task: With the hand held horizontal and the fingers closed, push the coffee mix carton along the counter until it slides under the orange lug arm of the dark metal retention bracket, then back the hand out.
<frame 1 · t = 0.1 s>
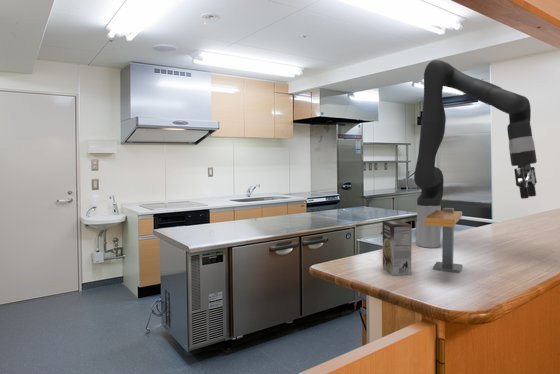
hand: (528, 197, 131), 22 cm above the counter, tool pointing down, fingers open, 8 cm apart
coffee box: (396, 271, 123), on the counter
lug bracket: (442, 277, 116), on the counter
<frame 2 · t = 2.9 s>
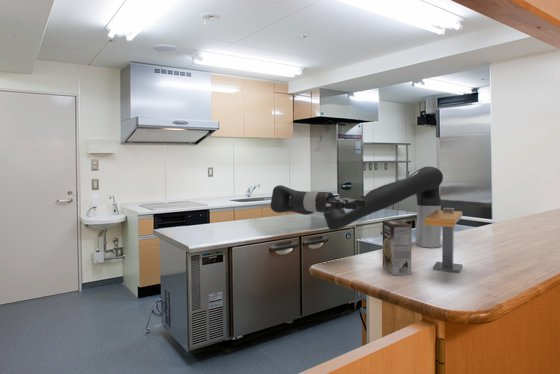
hand: (361, 204, 128), 21 cm above the counter, tool horizontal, fingers open, 8 cm apart
nothing on the counter moved.
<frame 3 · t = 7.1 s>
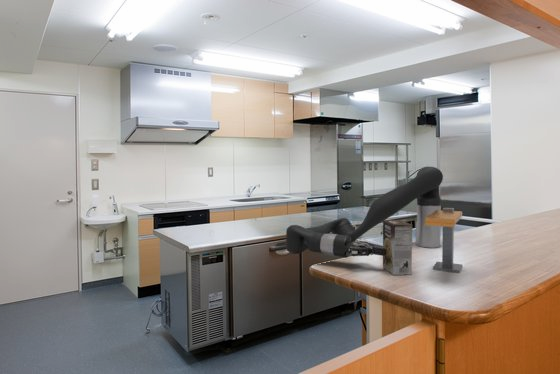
hand: (385, 252, 123), 6 cm above the counter, tool horizontal, fingers closed
coffee box: (396, 271, 123), on the counter, touching gripper
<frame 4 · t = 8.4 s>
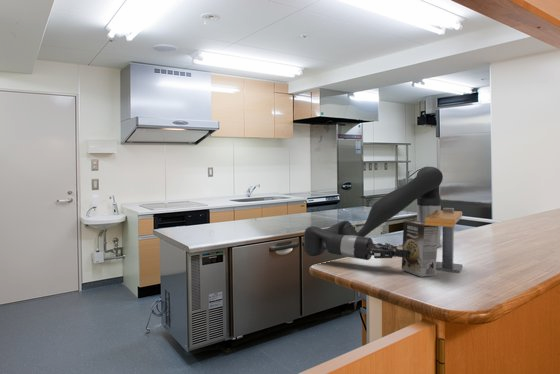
hand: (408, 254, 119), 6 cm above the counter, tool horizontal, fingers closed
coffee box: (418, 273, 121), on the counter, touching gripper
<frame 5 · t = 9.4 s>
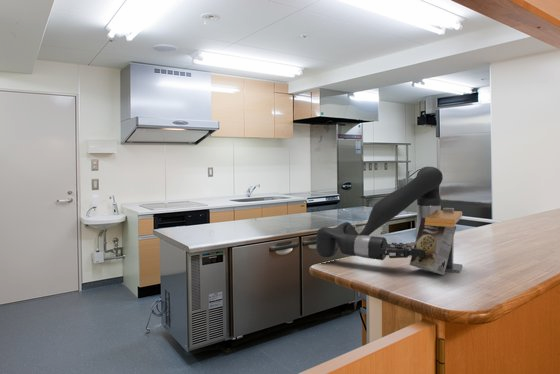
hand: (424, 253, 117), 7 cm above the counter, tool horizontal, fingers closed
coffee box: (426, 270, 120), point 1 cm above the counter, touching gripper, lug bracket
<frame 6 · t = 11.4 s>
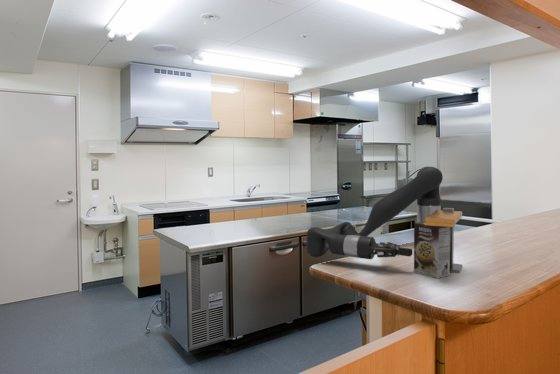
hand: (411, 252, 120), 7 cm above the counter, tool horizontal, fingers closed
coffee box: (431, 274, 120), on the counter
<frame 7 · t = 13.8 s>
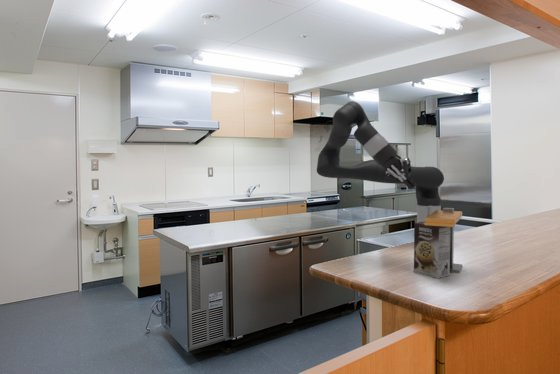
hand: (413, 187, 129), 27 cm above the counter, tool tilted 40°, fingers closed
nothing on the counter moved.
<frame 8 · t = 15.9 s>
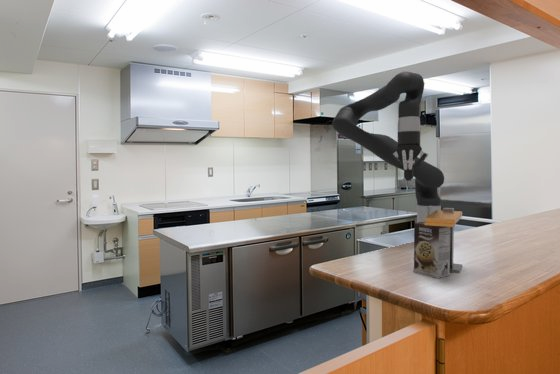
hand: (408, 180, 133), 29 cm above the counter, tool pointing down, fingers closed
nothing on the counter moved.
at the end: coffee box 4.3 cm from the lug bracket (horizontally); coffee box tilted 0°; coffee box on the counter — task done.
